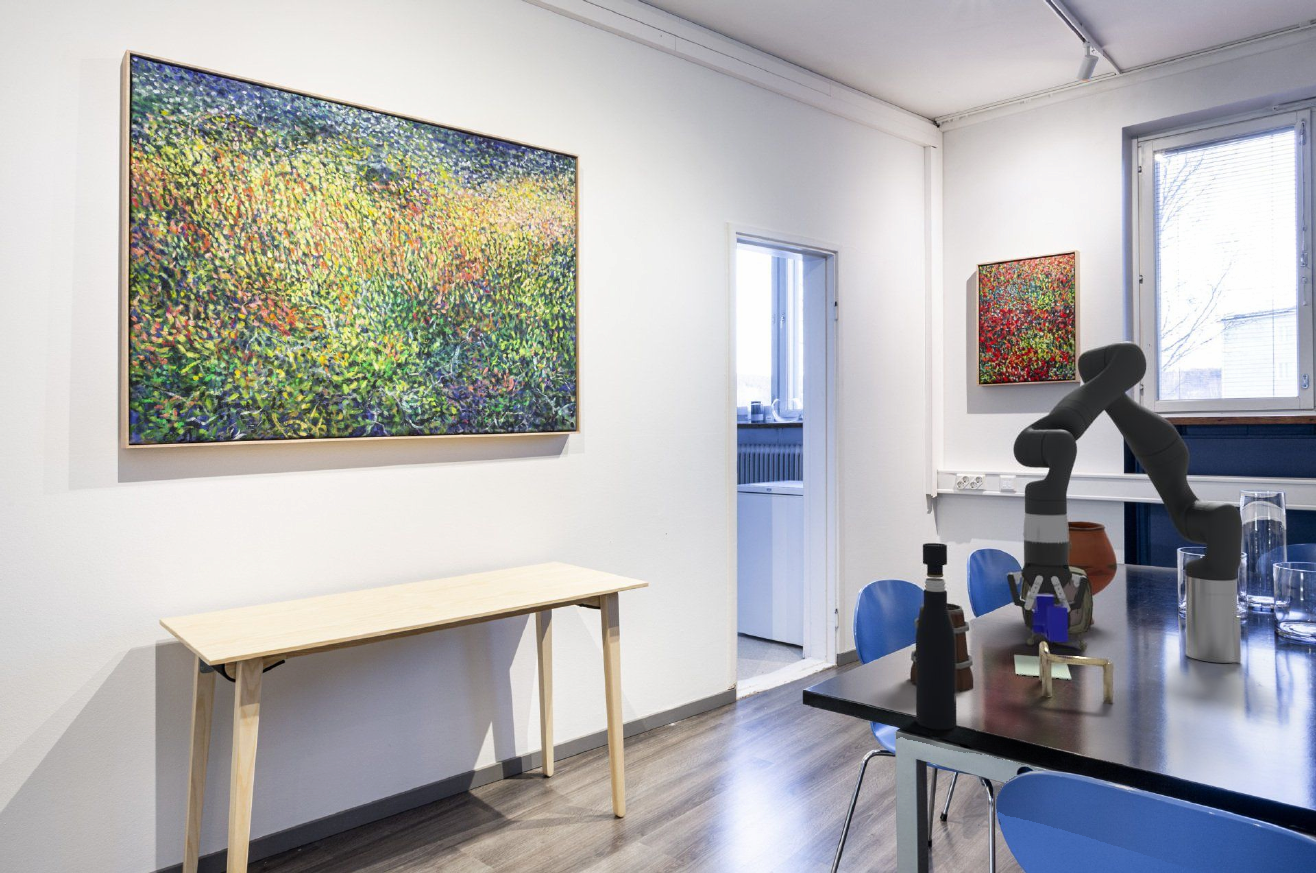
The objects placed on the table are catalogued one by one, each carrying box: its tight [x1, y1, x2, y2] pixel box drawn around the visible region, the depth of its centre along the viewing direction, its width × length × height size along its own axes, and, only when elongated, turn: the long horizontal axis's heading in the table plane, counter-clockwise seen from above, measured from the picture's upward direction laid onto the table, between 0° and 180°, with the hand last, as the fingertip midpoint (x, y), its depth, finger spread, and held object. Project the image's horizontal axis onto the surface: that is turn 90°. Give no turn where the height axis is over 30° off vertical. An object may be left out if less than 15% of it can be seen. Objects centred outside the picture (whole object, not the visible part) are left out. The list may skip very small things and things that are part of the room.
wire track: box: [1038, 641, 1114, 704], centre depth 157 cm, size 12×12×8 cm
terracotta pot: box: [1068, 520, 1118, 625], centre depth 213 cm, size 19×19×25 cm
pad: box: [1013, 654, 1072, 681], centre depth 172 cm, size 10×15×1 cm, turn 158°
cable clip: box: [1030, 595, 1069, 643], centre depth 154 cm, size 12×4×6 cm, turn 167°
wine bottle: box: [915, 542, 958, 731], centre depth 140 cm, size 6×6×30 cm
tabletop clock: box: [1019, 540, 1094, 650], centre depth 190 cm, size 14×9×25 cm, turn 68°
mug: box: [909, 602, 974, 692], centre depth 164 cm, size 16×12×15 cm
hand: (1047, 630), depth 154 cm, fingers closed on cable clip, 5 cm apart
